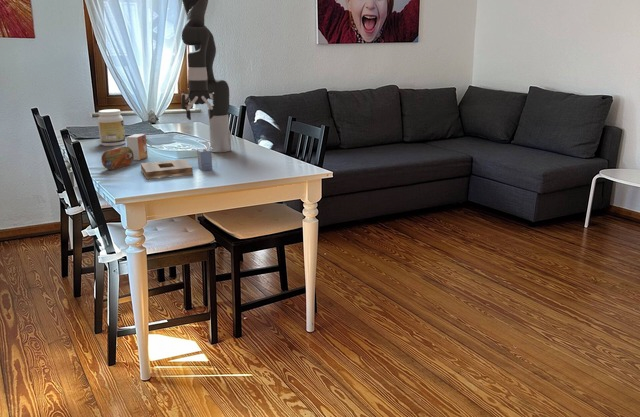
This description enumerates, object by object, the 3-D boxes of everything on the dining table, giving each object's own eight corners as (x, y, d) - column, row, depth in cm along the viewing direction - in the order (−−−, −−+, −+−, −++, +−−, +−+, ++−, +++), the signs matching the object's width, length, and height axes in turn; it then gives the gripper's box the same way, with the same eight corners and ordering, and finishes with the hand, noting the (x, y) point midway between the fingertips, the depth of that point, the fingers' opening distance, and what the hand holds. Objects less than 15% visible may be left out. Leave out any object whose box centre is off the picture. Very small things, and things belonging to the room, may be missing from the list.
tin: (106, 171, 243) (104, 151, 240) (101, 170, 245) (99, 150, 242) (135, 164, 255) (133, 145, 253) (130, 163, 257) (128, 144, 254)
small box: (139, 160, 262) (137, 137, 258) (128, 160, 263) (125, 136, 259) (148, 156, 269) (146, 134, 266) (137, 156, 270) (134, 133, 267)
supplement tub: (129, 144, 296) (125, 110, 290) (104, 147, 289) (100, 113, 284) (121, 140, 305) (118, 107, 300) (97, 143, 299) (93, 110, 294)
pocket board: (184, 166, 251) (184, 159, 250) (192, 174, 237) (192, 167, 236) (141, 170, 244) (140, 163, 243) (147, 179, 230) (146, 172, 229)
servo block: (207, 165, 252) (206, 145, 249) (213, 170, 244) (212, 149, 241) (197, 166, 250) (196, 146, 247) (202, 171, 242) (201, 150, 239)
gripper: (213, 77, 242) (215, 117, 247) (178, 78, 237) (180, 118, 242) (217, 79, 236) (219, 119, 240) (181, 79, 231) (183, 121, 235)
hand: (199, 119), depth 241 cm, fingers open, 8 cm apart
